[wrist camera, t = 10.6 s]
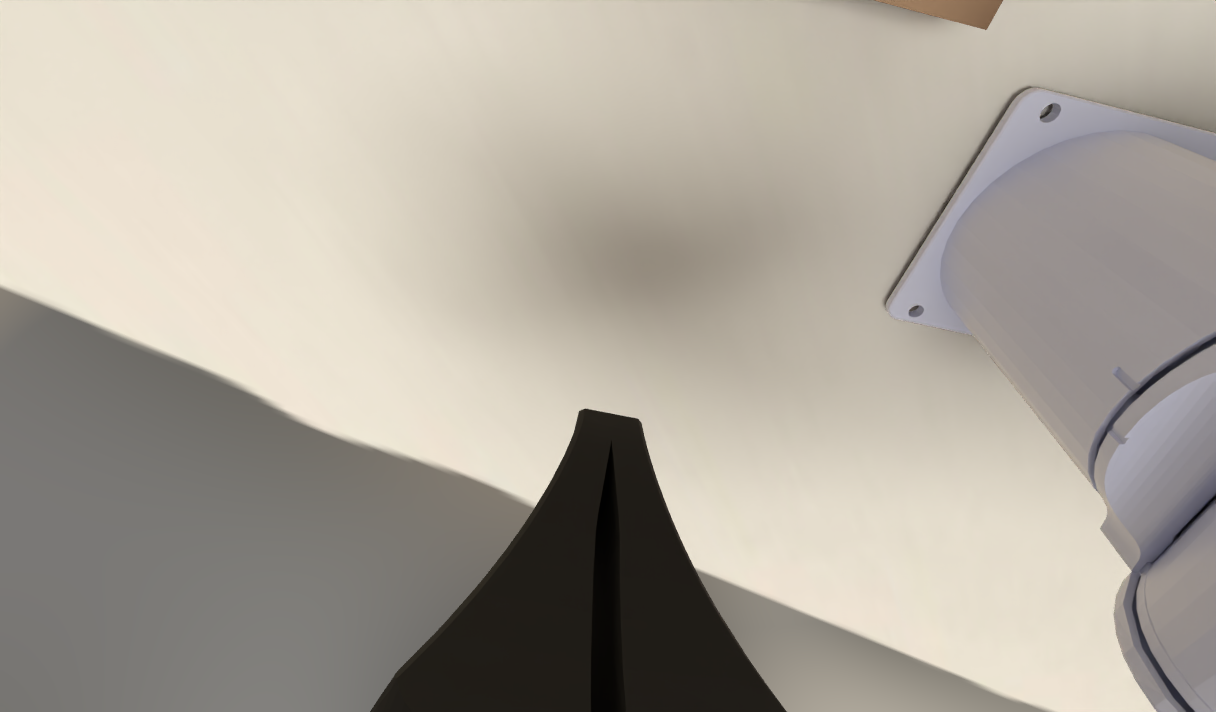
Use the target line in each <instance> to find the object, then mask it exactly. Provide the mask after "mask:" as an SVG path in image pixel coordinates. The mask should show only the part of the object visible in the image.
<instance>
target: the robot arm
mask: <svg viewBox="0 0 1216 712" xmlns="http://www.w3.org/2000/svg"><path fill="white" fill-rule="evenodd" d="M1050 104H1053V108H1052V110H1051V112H1050V113H1049V114H1048V115H1047V116H1046V117H1044V118H1042V119H1040V114H1041V112H1042V110H1043V109H1044V108H1045V107H1046V106H1048V105H1050ZM916 305H919V307H918V308H917V309H916V310H914V311H909V310H910V309H911V308H912V307H914V306H916ZM886 310H887V312H888V313H889V315H890V316H891V317H892V318H895V319H898V320H903V321H908V322H912V323H917V324H921V325H926V326H931V327H935V328H940V329H945V330H949V331H954V332H959V333H963V334H968V335H972V336H974V337H975V338H976V339H977V341H978V342H979V343H980V344H981V346H982V347H983V348H984V350H985V351H986V352H987V353H988V355H989V356H990V357H991V358H992V360H993V361H994V362H995V363H996V365H997V366H998V367H999V368H1000V370H1001V371H1002V372H1003V374H1004V375H1005V376H1006V377H1007V379H1008V380H1009V381H1010V382H1011V384H1012V385H1013V386H1014V387H1015V389H1016V390H1017V391H1018V392H1019V394H1020V395H1021V396H1022V398H1023V399H1024V400H1025V401H1026V403H1027V404H1028V405H1029V406H1030V408H1031V409H1032V410H1033V411H1034V413H1035V414H1036V415H1037V416H1038V418H1039V419H1040V420H1041V422H1042V423H1043V424H1044V425H1045V427H1046V428H1047V429H1048V430H1049V432H1050V433H1051V434H1052V435H1053V437H1054V438H1055V439H1056V440H1057V442H1058V443H1059V444H1060V446H1061V447H1062V448H1063V449H1064V451H1065V452H1066V453H1067V454H1068V456H1069V457H1070V458H1071V459H1072V461H1073V462H1074V463H1075V464H1076V466H1077V467H1078V468H1079V469H1080V471H1081V472H1082V473H1083V475H1084V476H1085V477H1086V478H1087V480H1088V481H1089V482H1090V483H1091V485H1092V486H1093V487H1094V488H1095V489H1096V490H1097V491H1098V493H1099V494H1100V495H1101V497H1102V498H1103V500H1104V502H1105V504H1106V506H1107V517H1106V520H1105V521H1104V523H1103V524H1102V526H1101V528H1100V529H1101V531H1102V532H1103V533H1104V535H1105V536H1106V537H1107V539H1108V540H1109V541H1110V543H1111V544H1112V545H1113V547H1114V548H1115V549H1116V551H1117V552H1118V553H1119V555H1120V556H1121V558H1122V559H1123V560H1124V562H1125V563H1126V564H1127V566H1128V567H1129V568H1130V570H1131V571H1132V572H1131V573H1130V574H1129V575H1128V576H1127V577H1126V578H1125V579H1124V581H1123V582H1122V584H1121V586H1120V588H1119V591H1118V593H1117V595H1116V600H1115V608H1114V622H1115V630H1116V636H1117V639H1118V642H1119V645H1120V648H1121V651H1122V654H1123V657H1124V659H1125V661H1126V663H1127V664H1128V666H1129V668H1130V670H1131V672H1132V674H1133V676H1134V678H1135V680H1136V682H1137V683H1138V685H1139V686H1140V688H1141V689H1142V691H1143V692H1144V694H1145V695H1146V697H1147V698H1148V700H1149V701H1150V703H1151V704H1152V706H1153V707H1154V709H1155V710H1156V711H1157V712H1216V133H1214V132H1210V131H1206V130H1202V129H1199V128H1195V127H1191V126H1187V125H1183V124H1179V123H1175V122H1171V121H1167V120H1163V119H1160V118H1156V117H1152V116H1148V115H1144V114H1140V113H1136V112H1132V111H1128V110H1124V109H1121V108H1117V107H1113V106H1109V105H1105V104H1101V103H1097V102H1093V101H1089V100H1085V99H1082V98H1078V97H1074V96H1070V95H1066V94H1062V93H1058V92H1054V91H1050V90H1046V89H1043V88H1030V89H1027V90H1024V91H1023V92H1022V93H1020V94H1019V95H1017V97H1016V98H1015V99H1014V100H1013V101H1012V103H1011V104H1010V106H1009V107H1008V109H1007V111H1006V112H1005V114H1004V115H1003V117H1002V119H1001V120H1000V122H999V123H998V125H997V127H996V128H995V130H994V131H993V133H992V135H991V136H990V138H989V139H988V141H987V143H986V144H985V146H984V147H983V149H982V151H981V152H980V154H979V155H978V157H977V158H976V160H975V162H974V163H973V165H972V166H971V168H970V170H969V171H968V173H967V174H966V176H965V178H964V179H963V181H962V182H961V184H960V186H959V187H958V189H957V190H956V192H955V194H954V195H953V197H952V198H951V200H950V202H949V203H948V205H947V206H946V208H945V210H944V211H943V213H942V214H941V216H940V217H939V219H938V221H937V222H936V224H935V225H934V227H933V229H932V230H931V232H930V233H929V235H928V237H927V238H926V240H925V241H924V243H923V245H922V246H921V248H920V249H919V251H918V253H917V254H916V256H915V257H914V259H913V261H912V262H911V264H910V265H909V267H908V269H907V270H906V272H905V273H904V275H903V276H902V278H901V280H900V281H899V283H898V284H897V286H896V288H895V289H894V291H893V292H892V294H891V296H890V297H889V299H888V300H887V303H886ZM370 712H786V710H785V709H784V708H783V706H782V705H781V704H780V702H779V701H778V700H777V698H776V697H775V695H774V694H773V693H772V691H771V690H770V689H769V687H768V686H767V685H766V683H765V682H764V680H763V679H762V678H761V676H760V675H759V673H758V672H757V670H756V669H755V668H754V666H753V665H752V663H751V662H750V660H749V659H748V657H747V656H746V654H745V653H744V652H743V650H742V648H741V647H740V645H739V643H738V642H737V640H736V639H735V637H734V635H733V634H732V632H731V631H730V629H729V628H728V626H727V624H726V623H725V621H724V620H723V618H722V617H721V615H720V613H719V612H718V610H717V608H716V607H715V606H714V603H713V601H712V600H711V598H710V596H709V594H708V593H707V591H706V589H705V587H704V585H703V584H702V582H701V580H700V578H699V576H698V574H697V572H696V570H695V568H694V566H693V564H692V562H691V560H690V558H689V556H688V554H687V552H686V550H685V548H684V546H683V543H682V541H681V539H680V537H679V534H678V532H677V530H676V528H675V525H674V523H673V521H672V518H671V516H670V513H669V511H668V508H667V506H666V503H665V500H664V498H663V495H662V492H661V489H660V487H659V484H658V481H657V478H656V475H655V472H654V469H653V466H652V463H651V459H650V456H649V452H648V449H647V445H646V441H645V437H644V433H643V428H642V423H641V422H640V421H639V419H636V418H631V417H626V416H621V415H615V414H610V413H605V412H600V411H595V410H590V409H583V410H581V411H579V414H578V418H577V422H576V426H575V431H574V434H573V436H572V439H571V441H570V444H569V446H568V448H567V450H566V453H565V455H564V457H563V459H562V461H561V463H560V465H559V467H558V469H557V471H556V472H555V474H554V476H553V478H552V480H551V482H550V484H549V485H548V487H547V489H546V490H545V492H544V494H543V495H542V497H541V499H540V500H539V502H538V503H537V505H536V507H535V508H534V510H533V512H532V513H531V515H530V516H529V518H528V519H527V521H526V522H525V524H524V525H523V527H522V528H521V530H520V531H519V533H518V534H517V535H516V537H515V538H514V539H513V541H512V542H511V544H510V545H509V546H508V548H507V549H506V550H505V552H504V553H503V554H502V556H501V557H500V558H499V559H498V561H497V562H496V563H495V565H494V566H493V567H492V568H491V570H490V571H489V572H488V574H487V575H486V576H485V577H484V578H483V580H482V581H481V582H480V583H479V584H478V586H477V587H476V588H475V589H474V590H473V592H472V593H471V594H470V595H469V596H468V597H467V598H466V600H465V601H464V602H463V603H462V604H461V605H460V606H459V608H458V609H457V610H456V611H455V612H454V613H453V614H452V615H451V616H450V618H449V619H448V620H447V621H446V622H445V623H444V624H443V625H442V626H441V627H440V629H439V630H438V631H437V632H436V633H435V634H434V635H433V636H432V637H431V638H430V639H429V640H428V641H427V642H426V643H425V644H424V645H423V646H422V647H421V648H420V649H419V650H418V651H417V652H416V653H415V654H414V655H413V656H412V657H411V658H410V659H409V660H408V661H407V662H406V663H405V664H404V665H403V666H402V667H401V668H400V669H399V670H398V671H397V673H396V674H395V676H394V677H393V679H392V680H391V682H390V683H389V684H388V686H387V688H386V689H385V690H384V692H383V693H382V695H381V696H380V698H379V699H378V701H377V702H376V704H375V705H374V707H373V708H372V710H371V711H370Z"/></svg>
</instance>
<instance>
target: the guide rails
mask: <svg viewBox="0 0 1216 712" xmlns="http://www.w3.org/2000/svg"><path fill="white" fill-rule="evenodd" d="M875 1H879V2H883V3H886V4H890V5H894V6H898V7H902V8H905V9H909V10H913V11H917V12H921V13H924V14H928V15H932V16H936V17H940V18H943V19H947V20H951V21H955V22H959V23H962V24H966V25H970V26H974V27H978V28H981V29H985V30H987V28H988V26H989V24H990V23H991V21H992V19H993V17H994V15H995V14H996V12H997V10H998V8H999V6H1000V5H1001V3H1002V1H1003V0H875Z"/></svg>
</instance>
